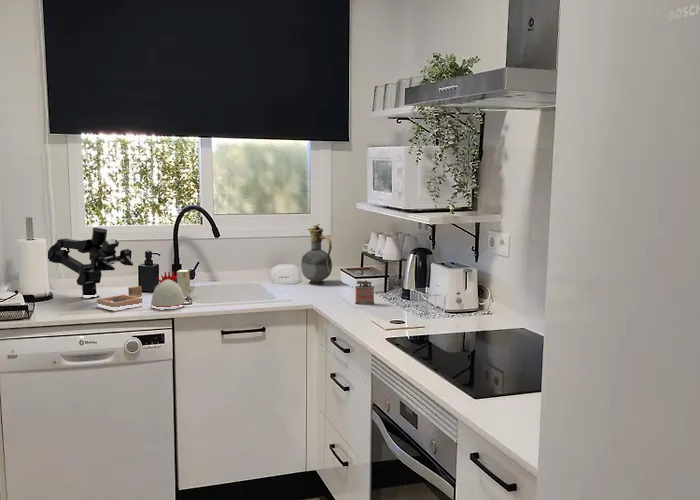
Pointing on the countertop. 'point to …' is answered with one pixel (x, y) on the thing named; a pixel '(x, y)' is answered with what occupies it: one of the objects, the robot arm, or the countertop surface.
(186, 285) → the skincare box
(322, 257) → the pitcher
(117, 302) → the brown square tray
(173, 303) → the grey crested dome
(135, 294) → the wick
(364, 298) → the lighter
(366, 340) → the countertop surface
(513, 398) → the countertop surface
